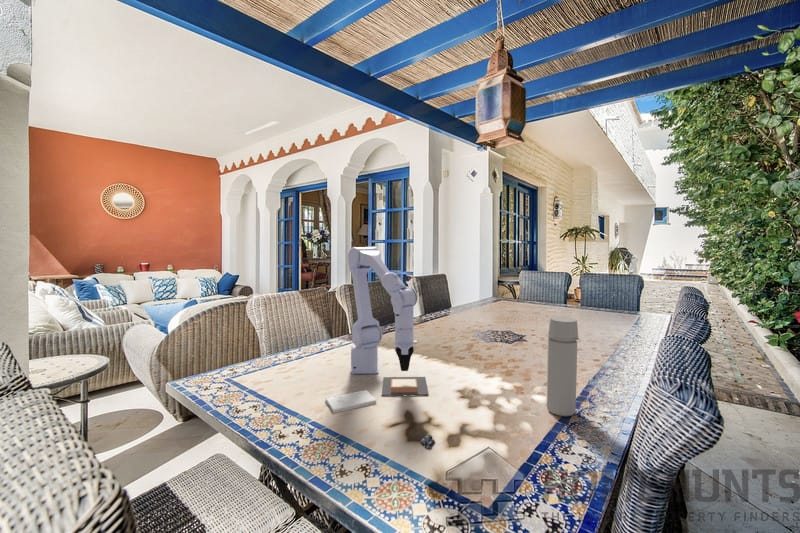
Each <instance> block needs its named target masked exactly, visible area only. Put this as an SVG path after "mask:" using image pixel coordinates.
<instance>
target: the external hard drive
mask: <svg viewBox="0 0 800 533" xmlns="http://www.w3.org/2000/svg"><path fill="white" fill-rule="evenodd" d="M325 402H326V404H327V406H329V407H330V410H331V411H332V413H333V414H335V413H340V412H344V411H349V410H353V409H358V408H362V407H367V406H370V405H371V406H372V405H375V404H377V399H376V398H375V397H374V396H373V395H372V394H371V393H370V392H369V391H368V390H367V389H365V390H364V389H363V390H360V391H355V392H350V393H346V394H341V395H336V396H331V397H326V398H325Z"/></svg>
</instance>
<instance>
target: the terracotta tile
mask: <svg viewBox="0 0 800 533" xmlns="http://www.w3.org/2000/svg"><path fill="white" fill-rule="evenodd" d="M396 392H417V380H416V379H391V393H396Z"/></svg>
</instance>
